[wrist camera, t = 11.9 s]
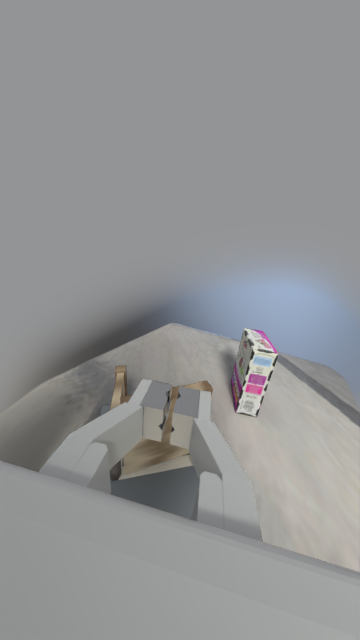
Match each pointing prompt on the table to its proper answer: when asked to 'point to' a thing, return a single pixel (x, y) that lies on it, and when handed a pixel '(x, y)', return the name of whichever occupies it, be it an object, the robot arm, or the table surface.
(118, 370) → the bar
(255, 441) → the table surface
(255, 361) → the candy bar box
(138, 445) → the brown wooden panel
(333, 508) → the table surface
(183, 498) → the card
